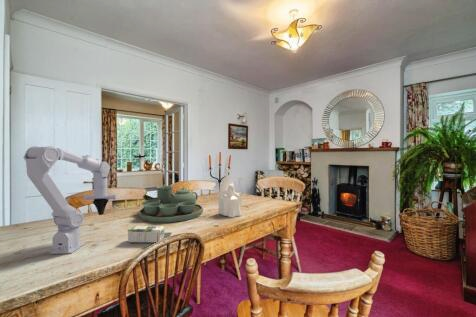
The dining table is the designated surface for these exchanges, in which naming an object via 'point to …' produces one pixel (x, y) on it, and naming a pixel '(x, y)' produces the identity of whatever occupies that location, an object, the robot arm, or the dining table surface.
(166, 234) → the mat
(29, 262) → the dining table surface
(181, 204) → the tea set
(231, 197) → the religious statue
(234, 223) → the dining table surface
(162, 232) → the syrup box
